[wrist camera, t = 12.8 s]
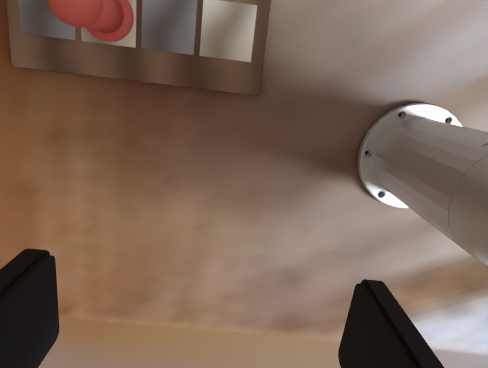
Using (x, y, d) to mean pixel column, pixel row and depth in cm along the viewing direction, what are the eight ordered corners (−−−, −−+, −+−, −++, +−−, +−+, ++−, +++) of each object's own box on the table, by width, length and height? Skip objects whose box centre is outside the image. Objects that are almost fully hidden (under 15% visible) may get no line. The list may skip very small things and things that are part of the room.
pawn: (134, -9, 33) (96, -40, 24) (133, 44, 35) (97, 33, 25) (84, -15, 33) (26, -50, 24) (85, 38, 34) (31, 25, 25)
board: (273, -27, 34) (274, -31, 33) (258, 95, 38) (258, 95, 37) (7, -65, 33) (-2, -71, 31) (18, 66, 36) (10, 66, 35)
